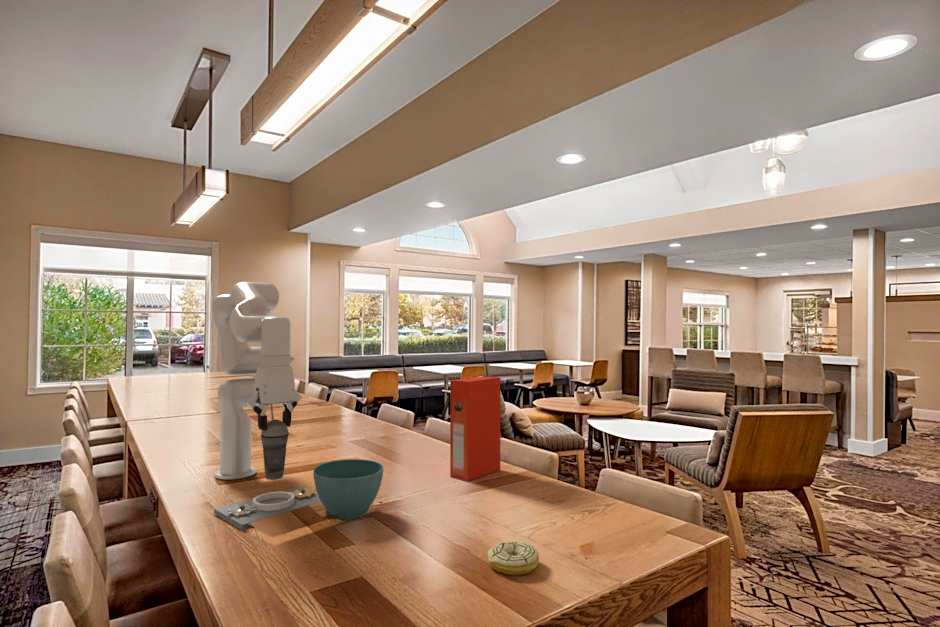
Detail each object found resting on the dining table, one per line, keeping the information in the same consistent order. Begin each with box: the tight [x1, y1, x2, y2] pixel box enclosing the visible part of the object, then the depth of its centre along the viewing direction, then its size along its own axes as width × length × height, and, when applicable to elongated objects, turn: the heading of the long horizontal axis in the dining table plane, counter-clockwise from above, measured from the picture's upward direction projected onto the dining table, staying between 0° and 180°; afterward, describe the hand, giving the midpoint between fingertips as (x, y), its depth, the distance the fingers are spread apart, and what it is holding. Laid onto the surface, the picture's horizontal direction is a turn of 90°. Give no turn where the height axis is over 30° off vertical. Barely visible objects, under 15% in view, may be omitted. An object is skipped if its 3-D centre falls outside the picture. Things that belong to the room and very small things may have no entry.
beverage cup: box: [260, 404, 290, 481], centre depth 142 cm, size 7×7×20 cm
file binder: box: [449, 375, 501, 482], centre depth 177 cm, size 8×17×32 cm, turn 140°
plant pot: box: [312, 458, 384, 521], centre depth 139 cm, size 18×18×12 cm
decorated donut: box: [487, 541, 540, 576], centre depth 111 cm, size 10×11×4 cm
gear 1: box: [227, 505, 256, 518], centre depth 136 cm, size 7×7×2 cm
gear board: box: [213, 486, 322, 532], centre depth 142 cm, size 16×25×3 cm, turn 139°
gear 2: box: [291, 488, 317, 500], centre depth 149 cm, size 7×7×2 cm
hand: (274, 427), depth 143 cm, fingers closed on beverage cup, 6 cm apart
